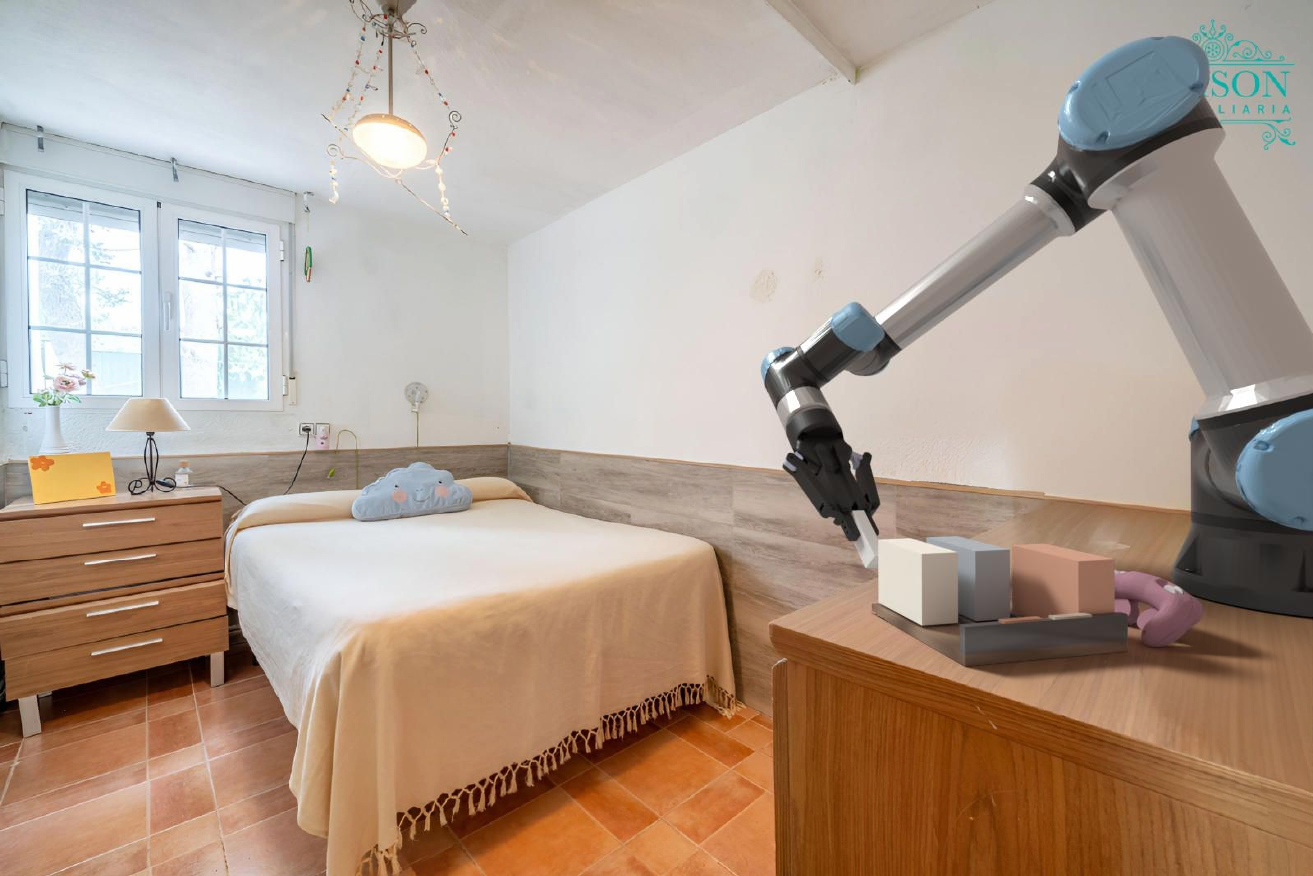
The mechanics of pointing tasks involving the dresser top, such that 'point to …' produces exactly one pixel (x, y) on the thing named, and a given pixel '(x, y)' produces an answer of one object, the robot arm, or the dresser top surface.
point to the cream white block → (918, 580)
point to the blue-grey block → (980, 577)
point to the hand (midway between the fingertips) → (875, 561)
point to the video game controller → (1156, 607)
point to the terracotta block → (1060, 581)
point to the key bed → (1018, 636)
